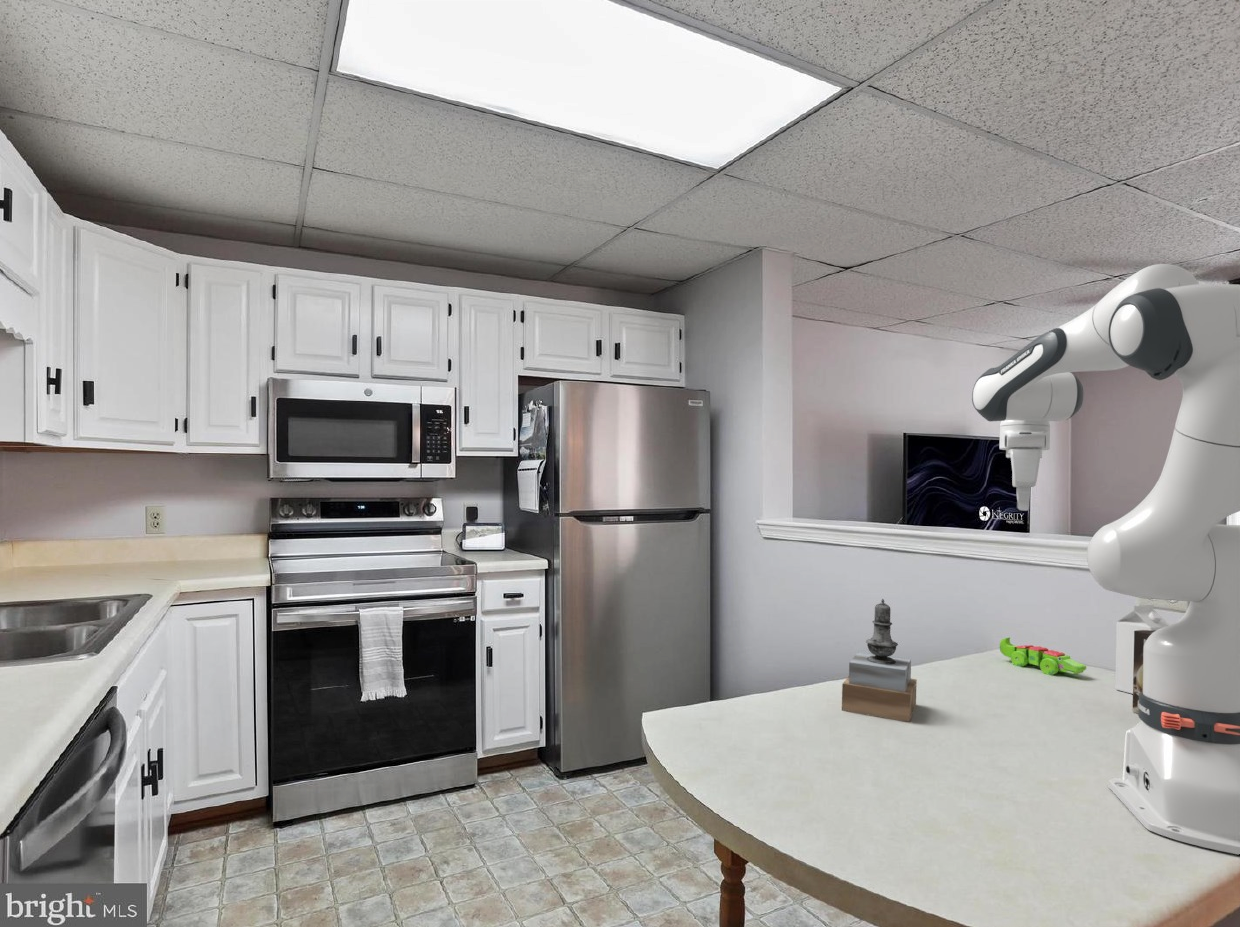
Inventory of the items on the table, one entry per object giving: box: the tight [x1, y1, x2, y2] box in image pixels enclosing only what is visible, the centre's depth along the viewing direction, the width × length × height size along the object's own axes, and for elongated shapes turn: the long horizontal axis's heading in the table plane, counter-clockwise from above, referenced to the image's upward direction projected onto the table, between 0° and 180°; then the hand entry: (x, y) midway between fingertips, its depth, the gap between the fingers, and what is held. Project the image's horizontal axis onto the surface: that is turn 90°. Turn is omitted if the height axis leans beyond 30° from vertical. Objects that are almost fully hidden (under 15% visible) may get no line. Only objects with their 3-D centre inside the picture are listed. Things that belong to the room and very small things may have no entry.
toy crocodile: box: [999, 637, 1087, 676], centre depth 174 cm, size 20×7×6 cm, turn 25°
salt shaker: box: [865, 598, 899, 664], centre depth 139 cm, size 6×6×12 cm
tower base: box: [841, 651, 918, 723], centre depth 139 cm, size 12×12×9 cm
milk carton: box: [1114, 604, 1170, 695], centre depth 156 cm, size 7×7×19 cm
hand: (1022, 510), depth 144 cm, fingers open, 8 cm apart
